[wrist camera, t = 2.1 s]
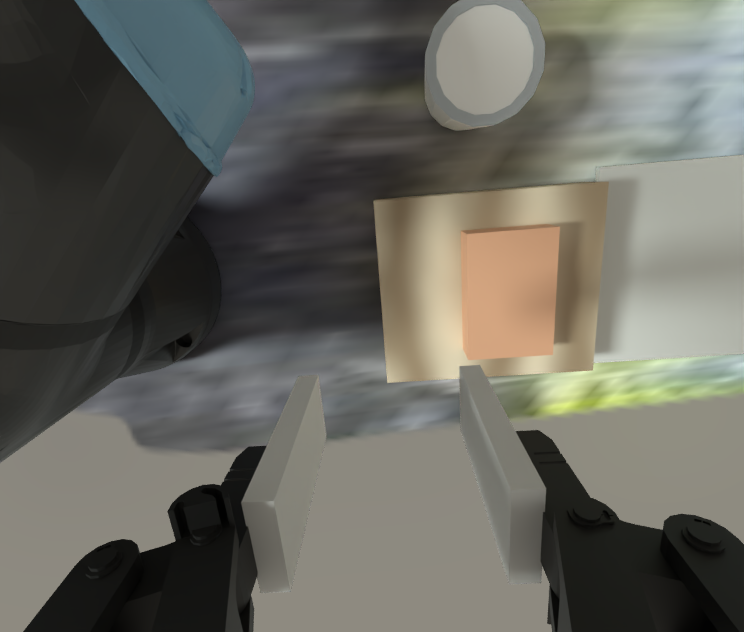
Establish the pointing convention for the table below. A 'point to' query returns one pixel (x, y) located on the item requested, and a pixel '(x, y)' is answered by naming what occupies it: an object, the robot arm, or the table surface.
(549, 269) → the terracotta block
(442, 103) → the shot glass
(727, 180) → the grey mat
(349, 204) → the table surface
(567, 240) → the board
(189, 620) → the robot arm
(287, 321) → the table surface
